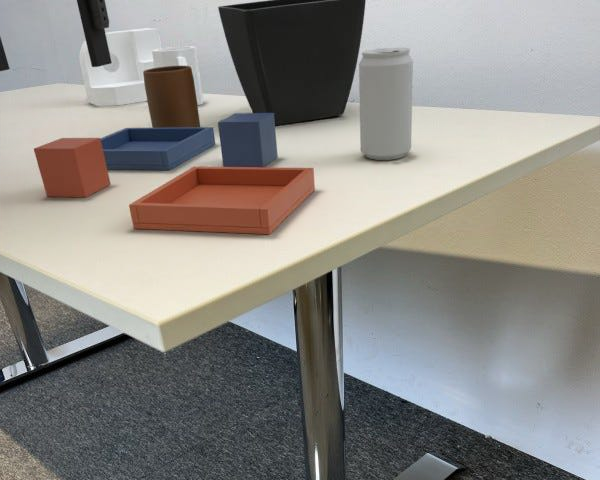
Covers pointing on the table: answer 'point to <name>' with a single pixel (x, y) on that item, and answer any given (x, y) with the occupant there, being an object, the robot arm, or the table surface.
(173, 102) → the mug
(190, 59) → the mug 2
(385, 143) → the beverage can
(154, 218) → the terracotta tray
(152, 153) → the blue tray
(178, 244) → the table surface
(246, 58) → the flower pot
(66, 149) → the terracotta block
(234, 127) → the blue block
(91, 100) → the tape dispenser
